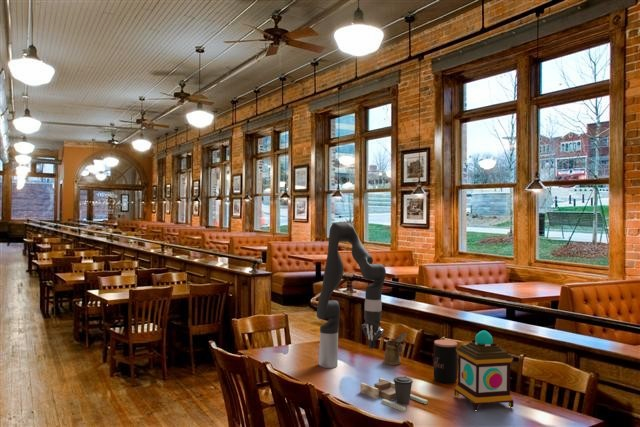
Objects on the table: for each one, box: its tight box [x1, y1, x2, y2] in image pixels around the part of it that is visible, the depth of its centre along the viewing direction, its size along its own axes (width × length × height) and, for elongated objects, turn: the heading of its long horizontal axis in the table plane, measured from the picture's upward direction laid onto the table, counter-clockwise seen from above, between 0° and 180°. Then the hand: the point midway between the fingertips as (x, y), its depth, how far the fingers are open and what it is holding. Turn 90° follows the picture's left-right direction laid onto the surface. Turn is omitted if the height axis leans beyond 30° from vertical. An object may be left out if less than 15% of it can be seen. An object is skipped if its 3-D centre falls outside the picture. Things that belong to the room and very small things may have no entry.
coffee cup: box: [392, 376, 414, 406], centre depth 209 cm, size 8×8×10 cm
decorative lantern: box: [454, 330, 515, 411], centre depth 210 cm, size 20×20×30 cm
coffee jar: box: [433, 339, 458, 385], centre depth 237 cm, size 11×11×18 cm
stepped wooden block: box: [359, 377, 395, 400], centre depth 219 cm, size 10×12×4 cm
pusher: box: [373, 380, 396, 401], centre depth 215 cm, size 9×7×5 cm
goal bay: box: [381, 393, 429, 413], centre depth 208 cm, size 12×15×1 cm
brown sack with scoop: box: [383, 331, 407, 366], centre depth 262 cm, size 9×14×18 cm, turn 35°
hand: (372, 348), depth 223 cm, fingers closed
